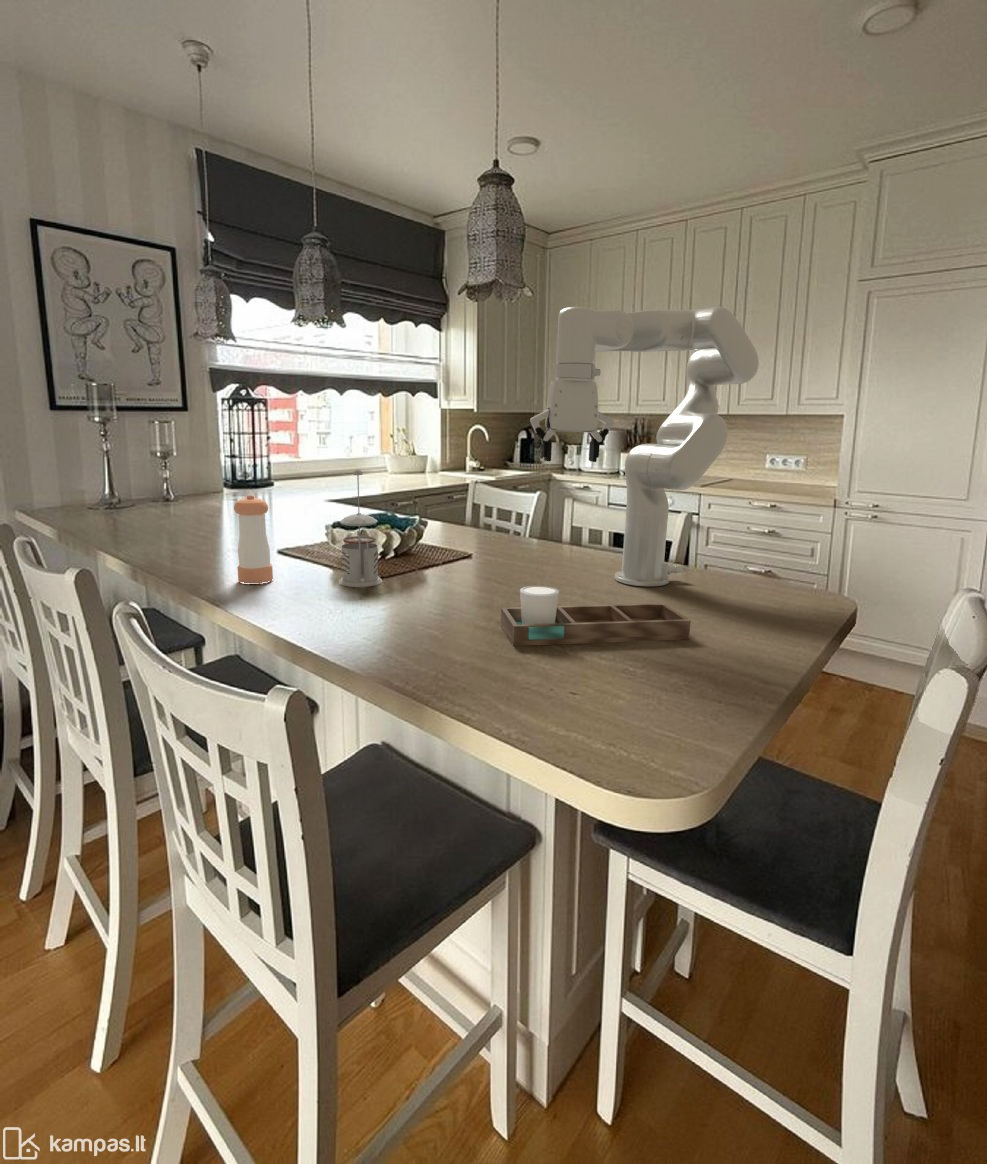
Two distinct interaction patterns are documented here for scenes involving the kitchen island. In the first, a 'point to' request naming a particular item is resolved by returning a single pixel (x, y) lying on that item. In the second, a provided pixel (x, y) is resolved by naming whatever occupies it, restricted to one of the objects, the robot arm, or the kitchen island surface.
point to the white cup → (538, 604)
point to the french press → (359, 552)
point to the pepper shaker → (253, 541)
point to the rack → (598, 625)
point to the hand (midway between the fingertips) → (570, 461)
